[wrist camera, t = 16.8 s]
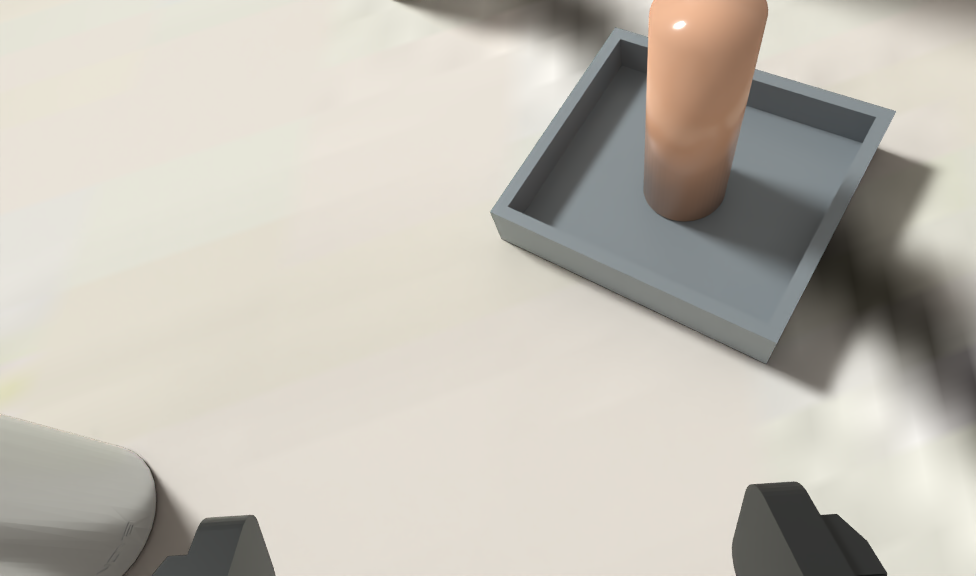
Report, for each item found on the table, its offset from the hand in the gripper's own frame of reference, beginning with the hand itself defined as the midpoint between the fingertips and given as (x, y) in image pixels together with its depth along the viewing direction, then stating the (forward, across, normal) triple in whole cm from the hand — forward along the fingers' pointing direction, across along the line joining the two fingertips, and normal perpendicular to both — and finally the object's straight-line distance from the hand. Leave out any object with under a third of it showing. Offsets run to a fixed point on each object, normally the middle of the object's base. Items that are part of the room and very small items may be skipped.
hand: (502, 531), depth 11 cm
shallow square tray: (+31, -14, +9) cm, 35 cm away
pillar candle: (+31, -13, +8) cm, 35 cm away
